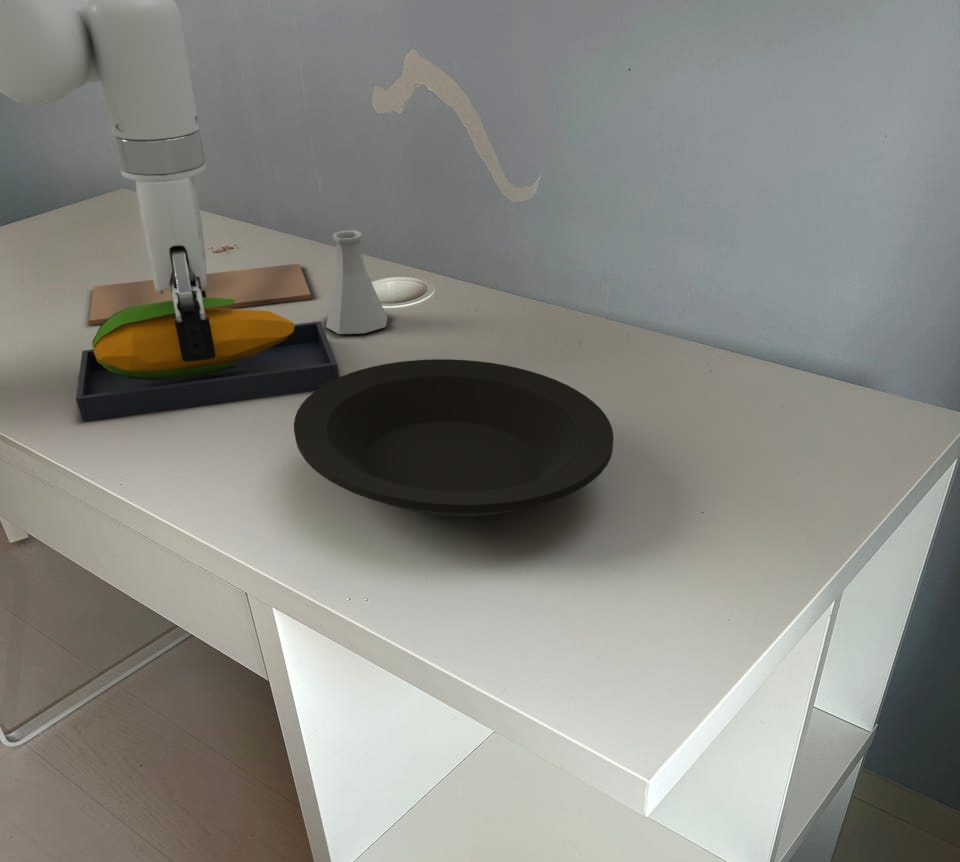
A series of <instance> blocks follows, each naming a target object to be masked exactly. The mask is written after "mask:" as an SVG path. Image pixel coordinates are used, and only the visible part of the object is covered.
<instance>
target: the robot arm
mask: <svg viewBox="0 0 960 862" xmlns="http://www.w3.org/2000/svg"><path fill="white" fill-rule="evenodd" d="M178 7H179V6H178V4H177V3H176V1H175V0H0V93H1V94H3V96H6V98H9V99H11V100H13V101H14V102H16V103H20V104H23V105H27V106H32V107H33V106H34V107H42V106H48V105H52V104H54V103H56V102H58V101H60V100H62V99H63V98H65V97H66V96H68V95H69V94H70V93H72V92H74V91H75V90H77V89H79V88H81V87H84V86H86V85H88V84H90V83H91V84H92V83H97V82H100V83H101V88H102V91H103V98H104V101H105V106H106V110H107V116H108V119H109V124H110V128H111V134H112V138H113V141H114V146H115V150H116V156H117V159H118V165H119V169H120V175H121V176H122V177H123V178H124V179H127V180H130V181H134V183H135V191H136V192H135V193H136V197H137V199H136V200H137V204H138V211H139V215H140V221H141V225H142V231H143V237H144V241H145V244H146V250H147V255H148V259H149V264H150V270H151V274H152V280H154V286H155V290H156V291H157V292H158V293H160V294H163V291H165V290H168V288H169V284H170V287H171V293H172V298H173V304H174V309H175V315H176V320H175V326H176V330H177V335H178V340H179V345H180V350H181V355H182V359H183V360H184V361H185V362H189V361H198V360H207V359H214V358H215V356H216V355H215V349H214V343H213V338H212V332H211V327H210V322H209V317H206V315H205V309H204V304H203V298H202V297H206V293H205V290H203V289H204V288H205V287H206V286H207V275H206V274H207V259H206V247H205V239H204V230H203V223H202V216H201V215H202V214H201V209H200V204H199V198H198V192H197V186H196V180H195V177H196V176H199V175H200V174H203V172H205V171H206V169H207V164H206V161H205V160H206V159H205V153H204V149H203V148H204V147H203V142H202V136H201V131H200V130H201V129H200V125H199V118H198V112H197V107H196V101H195V95H194V89H193V83H192V82H193V81H192V77H191V71H190V65H189V60H188V53H187V47H186V42H185V36H184V29H183V24H182V19H181V14H180V10H179V8H178ZM196 298H197V300H196ZM179 299H180V300H179ZM198 308H199V309H198ZM207 308H208V307H207Z"/></svg>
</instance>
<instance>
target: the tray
mask: <svg viewBox="0 0 960 862" xmlns="http://www.w3.org/2000/svg"><path fill="white" fill-rule="evenodd" d="M294 324H295V327H294V331H293V333H292V334H291V335H290V336H289V337H288V338H286V339H285V340H284V341H282V342H280V343H278V344H276V345H274V346H272V347H270V348H268V349H266V350H264V351H262V352H260V353H258V354H256V355H254V356H251V357H247V358H244V359H240V360H236V361H233V362H229V363H231V364H236V366H237V367H235V368H231V369H227V370H223V371H218V372H214V373H207V374H199V375H192V376H184V377H176V378H169V379H160V380H144V379H131V378H128V377H125V376H122V375H119V374H116V373H113V372H110V371H109V370H107V369H106V368H104V367H103V366H102V365H101V364H100V363H99V362H97V359H96V357H95V354H94V352H93V351H94V348H92V349H84V350H81V358H80V366H79V373H78V379H77V389H76V394H75V395H76V397H75V401H76V404H77V407H78V410H79V415H80V417H81V420H82V423H83V422H91V421H97V420H105V419H106V420H107V419H113V418H119V417H127V416H128V417H129V416H133V415H134V416H135V415H143V414H149V413H156V412H164V411H171V410H179V409H184V408H186V409H187V408H192V407H202V406H209V405H217V404H223V403H229V402H231V403H232V402H237V401H245V400H251V399H259V398H267V397H273V396H281V395H287V394H289V395H290V394H296V393H303V392H310V391H316V390H317V389H319V388H320V387H322V386H323V385H325V384H327V383H328V382H330V381H332V380H335V379H337V378H339V377H340V376H339V375H340V374H339V368H338V367H339V366H338V364H337V361H336V358H335V355H334V352H333V350H332V347H331V344H330V342H329V339H328V336H327V334H326V331H325V328H324V326H323V323H322V321H321V320H319V321H318V320H317V321H311V322H310V321H309V322H302V323H294ZM225 364H226V363H225Z"/></svg>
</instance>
